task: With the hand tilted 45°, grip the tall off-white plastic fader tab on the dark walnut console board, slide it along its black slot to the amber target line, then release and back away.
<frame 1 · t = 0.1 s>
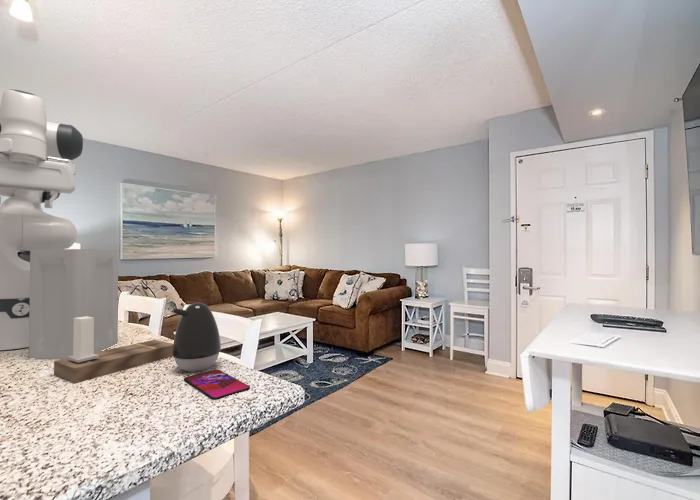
hand: (23, 205, 85), 39 cm above the kitchen counter, tool pointing down, fingers open, 8 cm apart
console board: (120, 364, 81), on the kitchen counter
grey box: (77, 354, 91), on the kitchen counter
smartphone: (215, 387, 68), on the kitchen counter
pump dispenser: (196, 369, 78), on the kitchen counter
fader tab: (83, 338, 75), point 8 cm above the kitchen counter, slide at 0.0 cm
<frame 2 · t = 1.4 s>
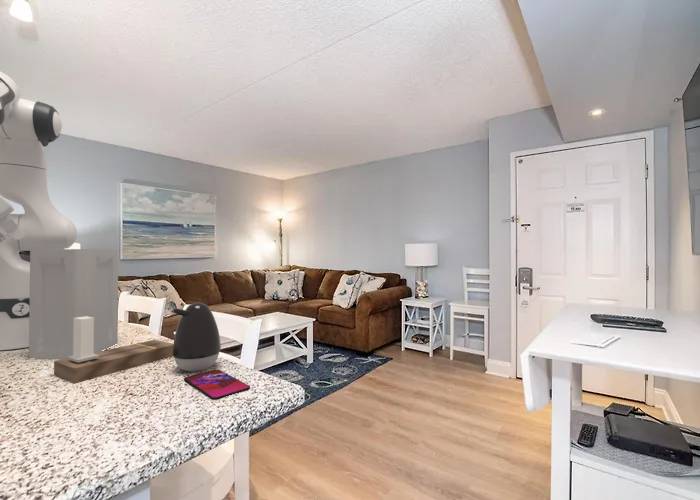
hand: (10, 239, 65), 29 cm above the kitchen counter, tool tilted 45°, fingers open, 8 cm apart
nothing on the kitchen counter moved.
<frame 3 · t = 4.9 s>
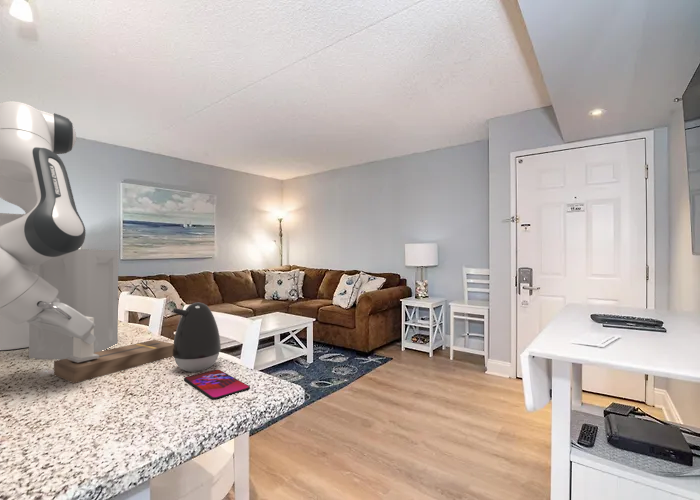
hand: (87, 339, 76), 7 cm above the kitchen counter, tool tilted 45°, fingers closed on fader tab, 4 cm apart
fader tab: (83, 338, 75), point 8 cm above the kitchen counter, slide at 0.0 cm, touching gripper
everything else where it was.
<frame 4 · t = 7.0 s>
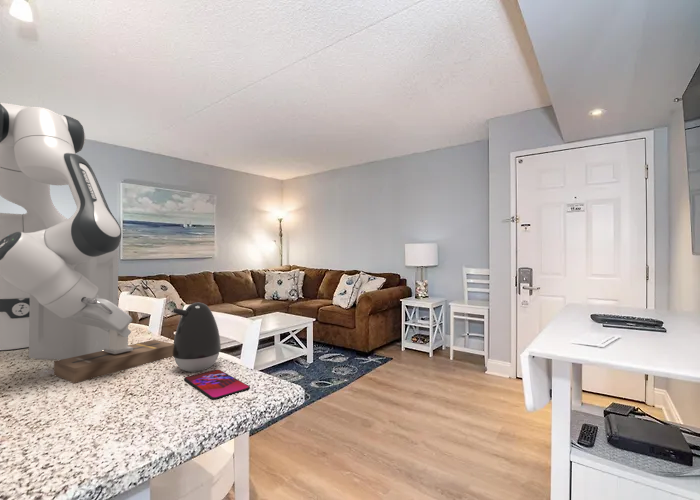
hand: (122, 333, 82), 7 cm above the kitchen counter, tool tilted 45°, fingers closed on fader tab, 4 cm apart
fader tab: (118, 331, 81), point 8 cm above the kitchen counter, slide at 7.1 cm, touching gripper
everything else where it was.
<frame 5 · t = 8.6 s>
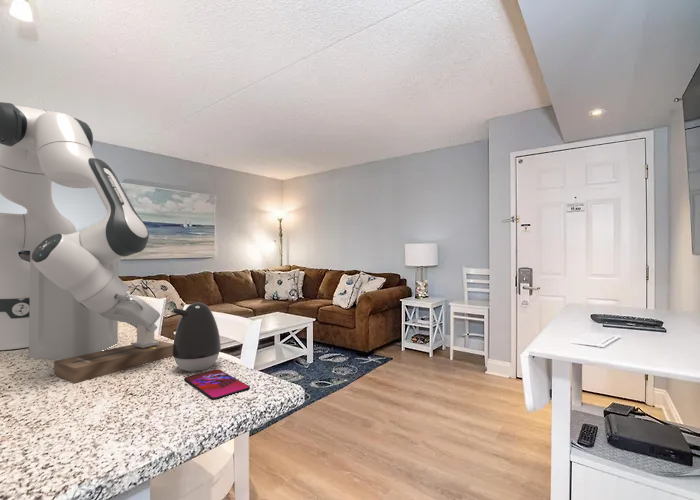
hand: (148, 328, 87), 7 cm above the kitchen counter, tool tilted 45°, fingers closed on fader tab, 4 cm apart
fader tab: (145, 327, 87), point 8 cm above the kitchen counter, slide at 13.4 cm, touching gripper
everything else where it was.
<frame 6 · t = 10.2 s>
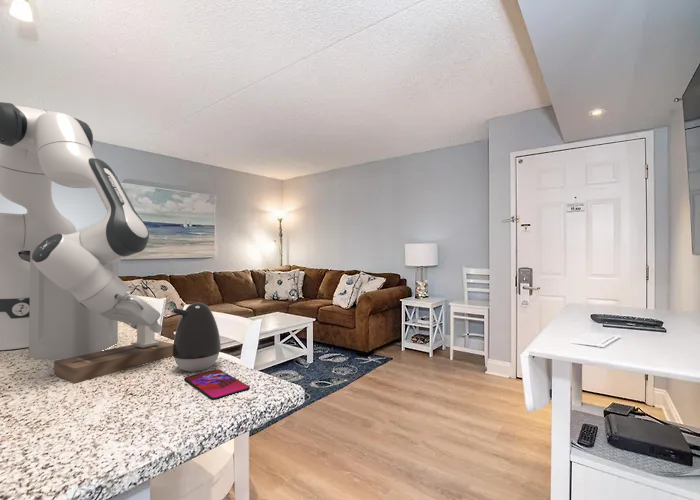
hand: (148, 328, 87), 7 cm above the kitchen counter, tool tilted 45°, fingers open, 8 cm apart
fader tab: (145, 327, 87), point 8 cm above the kitchen counter, slide at 13.5 cm
everything else where it was.
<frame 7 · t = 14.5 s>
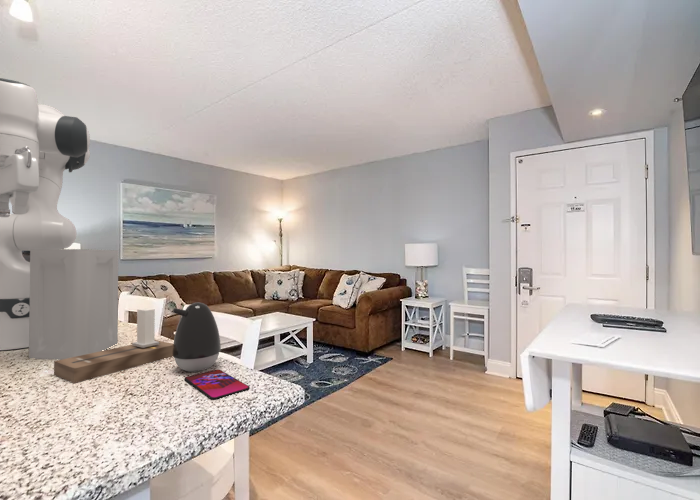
hand: (11, 215, 74), 35 cm above the kitchen counter, tool pointing down, fingers open, 8 cm apart
nothing on the kitchen counter moved.
at the end: fader tab slide at 13.5 cm; the gripper is holding nothing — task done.
